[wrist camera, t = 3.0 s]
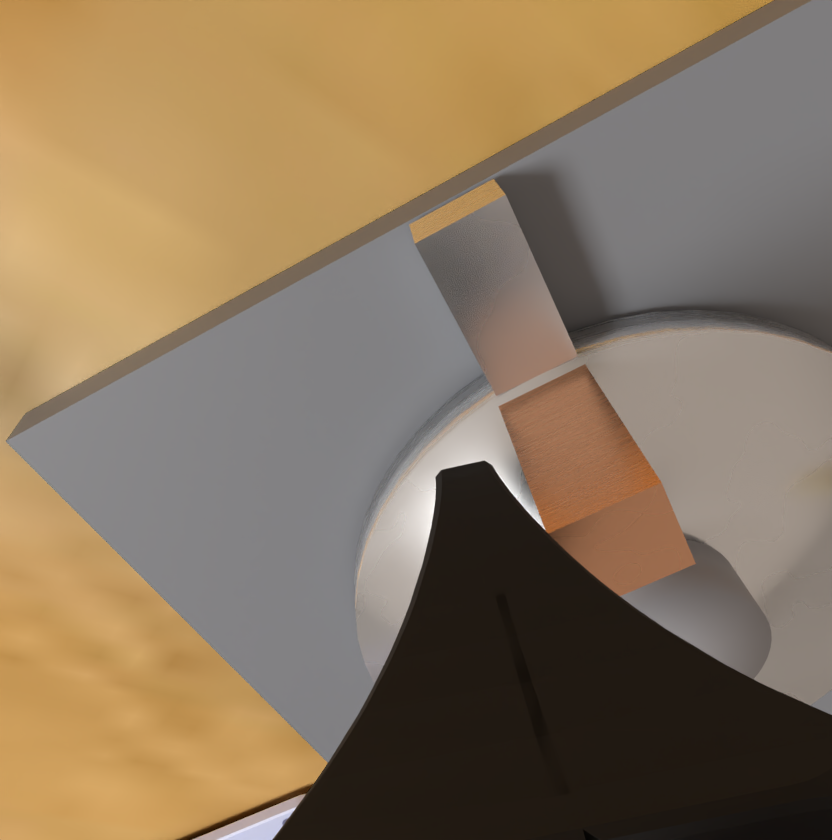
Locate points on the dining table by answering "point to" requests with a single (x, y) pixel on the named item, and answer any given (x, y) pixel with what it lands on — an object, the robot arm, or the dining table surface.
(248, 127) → the dining table surface
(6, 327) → the dining table surface
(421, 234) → the flange plate
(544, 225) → the turntable base
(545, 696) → the robot arm
